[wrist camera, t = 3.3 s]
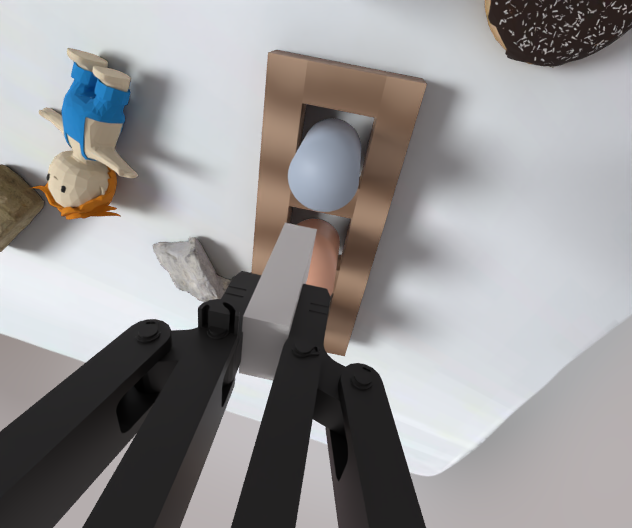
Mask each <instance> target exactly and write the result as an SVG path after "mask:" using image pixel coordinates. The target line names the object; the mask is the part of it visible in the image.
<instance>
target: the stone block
mask: <svg viewBox="0 0 632 528" xmlns="http://www.w3.org/2000/svg"><path fill="white" fill-rule="evenodd" d="M30 188H31V187H30V186H29V185H28V184H27V183H26V182H25V181H24V180H23V178H22V177H21V176H19V175H18V174H17V173H15V172H14V171H12V170H11V169H10V168H9V167H7V166H5V165H0V252H2V251H3V249H4V248H6V247H7V246H8V245H9V243H10V242H11V241H12V240H13V239H15V237H16V236H17V235H18V234H19V233H20V232H21V231H22V230H23V229H24V228H25V227H26V226H28V225H29V224H30V223H31V221H32V220H33V219H34V217H35V216H36V215H37V214H38V213H39V212H40V211H41V209H42V208H43V206H44V201H43V200H42V199H41V197H40V196H39V195H38V194H37V192H35V191H34V190H33V189H32V188H31V189H30Z"/></svg>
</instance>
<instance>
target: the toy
mask: <svg viewBox="0 0 632 528" xmlns="http://www.w3.org/2000/svg"><path fill="white" fill-rule="evenodd" d="M67 55H68V57H69V58H70V59H72V60H73V61H74V65H73V69H72V74H71V77H72V78H74V82H73V83H72V85H71V87H70V89H69V91H68V92H67V94H66V95H65V98H64V102H63V106H62V110H61V111H62V115H60V114H59V113H57V112H56V111H54V110H53V109H50V108H44V109H43V110H39V114H40V115H41V116H42V117H44V118H45V119H47V120H49V121H50V122H51V123H53V124H54V125H55V126H56V127H57V128H58V129H59V130H60V131H61V132H62V134H63V135H64V136H65V139H66V142H67V143H68V145H69V146H70V147H71V148H72V150H73V151H65V152H61V153H60V154H59V155H57V156H56V157H54V159H53V161H52V163H51V164H50V166H49V171H48V175H47V180H48V182H47V184H46V185H45V186H41V185H40V186H36V187H32V188H36V189H40V190H41V191H43V192H44V193H45V195H46V197H47V199H48V202H49V204H50V205H52V206H54V207H56V208H57V209H58V210H59V211H60V212H61V216H66V219H75V218H87V217H90V216H120V215H119V214H117V213H113V212H106V211H110V210H115V209H117V208H115V207H111V206H108V205H109V204H110V202H111V201H112V198H113V196H114V194H115V191H116V185H117V177H116V173H115V172H117V174H118V175H119V176H122V177H127V178H137V177H138V174H137V173H136V172H135V171H134V170H133V169H132V168H131V167H130V166H129V165H128V164H127V163H126V162H125V161H124V160H123V159H122V158H121V157H120V156H119V155H118V153H117V152H116V151H115V145H116V143H117V140H118V137H119V135H120V133H121V132H122V129H123V124H124V122H125V116H124V113H123V109H124V106H125V105H128V101H129V97H130V93H131V92H130V90H129V89H128V88H129V84H130V80H131V78H130V77H129V76H128V75H126V74H124V73H122V72H120V71H117V70H114V69H110V68H107V66H108V62H107V61H106V60H105V59H103V58H101V57H99V56H97V55H94V54H91V53H87V52H84V51H80V50H76V49H71V48H67ZM30 189H31V188H30ZM120 217H121V216H120Z"/></svg>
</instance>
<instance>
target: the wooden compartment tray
mask: <svg viewBox="0 0 632 528" xmlns="http://www.w3.org/2000/svg"><path fill="white" fill-rule="evenodd" d="M426 85H427V83H426V82H425V81H424V80H423V79H422V78H417V77H412V76H407V75H402V74H397V73H392V72H386V71H381V70H376V69H371V68H366V67H361V66H356V65H351V64H346V63H341V62H336V61H331V60H326V59H321V58H316V57H311V56H306V55H300V54H295V53H290V52H285V51H280V50H274V51H271V52H268V61H267V74H266V87H265V101H264V114H263V127H262V140H261V153H260V167H259V180H258V193H257V206H256V220H255V233H254V246H253V259H252V272H251V273H253V274H258V275H262V273H263V271H264V269H265V267H266V264H267V262H268V260H269V258H270V255H271V253H272V251H273V249H274V246H275V244H276V242H277V240H278V238H279V235H280V233H281V231H282V229H283V226H284V224H285V223H289V224H290V221H291V214H292V207H296V208H301V209H306V210H311V211H315V210H312V209H309V208H307V207H305V206H304V205H303V204H301V203H300V202H299V201H298V200H297V199H296V198H295V196H294V195H293V193H292V191H291V189H290V186H289V182H288V170H289V166H290V163H291V161H292V159H293V158H294V156H295V154H296V152H297V150H298V149H299V147H300V145H301V141H302V133H303V126H304V119H305V111H306V104H309V105H314V106H319V107H324V108H329V109H334V110H339V111H344V112H349V113H354V114H359V115H364V116H369V117H374V122H373V126H372V131H371V135H370V139H369V143H368V147H367V151H366V156H365V160H364V164H363V168H362V172H361V176H360V177H359V185H358V189H357V191H356V193H355V195H354V197H353V198H352V200H351V201H350V202H349V203H348V204H347V205H345V206H344V207H342V208H340V209H338V210H335V211H330V212H321V213H326V214H331V215H336V216H341V217H346V218H350V222H349V226H348V231H347V235H346V239H345V243H344V247H343V251H342V255H338V260H337V267H336V275H335V282H334V289H333V292H332V297H331V301H330V306H329V312H328V319H327V325H326V331H325V337H324V348H325V351H326V352H327V353H332V354H337V355H341V356H345V353H346V350H347V347H348V343H349V340H350V337H351V333H352V330H353V327H354V324H355V320H356V317H357V314H358V310H359V307H360V304H361V300H362V297H363V294H364V290H365V287H366V284H367V281H368V277H369V274H370V271H371V267H372V264H373V261H374V257H375V254H376V251H377V247H378V244H379V241H380V238H381V234H382V231H383V228H384V224H385V221H386V218H387V214H388V211H389V208H390V204H391V201H392V198H393V195H394V191H395V188H396V185H397V181H398V178H399V175H400V171H401V168H402V165H403V162H404V158H405V155H406V152H407V148H408V145H409V142H410V138H411V135H412V132H413V128H414V125H415V122H416V119H417V115H418V112H419V109H420V105H421V102H422V99H423V95H424V92H425V89H426ZM316 212H320V211H316Z"/></svg>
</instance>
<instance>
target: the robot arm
mask: <svg viewBox="0 0 632 528" xmlns="http://www.w3.org/2000/svg"><path fill="white" fill-rule="evenodd" d="M316 232H317V229H313V228H308V227H303V226H299V225H294V224H289V223H285V224H284V226H283V229H282V231H281V233H280V235H279V238H278V240H277V242H276V244H275V246H274V249H273V251H272V253H271V255H270V258H269V260H268V262H267V264H266V267H265V269H264V271H263V273H262V275H258V274H253V273H248V272H244V271H241V272H240V273H239V274H237V275H236V276H234V277H233V278H232V280H231V282H230V284H229V285H228V287H227V289H226V291H225V293H224V294H223V296H222V298H221V299H213V300H209V301H206V302H204V303H202V304H201V305H200V306H199V307H198V328H195V329H190V330H174V331H171V329H170V327H169V325H168V324H166V323H165V322H163V321H160V320H156V319H150V320H144V321H140V322H138V323H136V324H134V325H132V326H131V327H130V328H128V329H127V330H126V331H125V332H123V333H122V334H121V335H120V336H118V337H117V338H116V339H115V340H114V341H112V342H111V343H110V344H109V345H107V346H106V347H105V348H104V349H102V350H101V351H100V352H99V353H97V354H96V355H95V356H94V357H92V358H91V359H90V360H89V361H87V362H86V363H85V364H84V365H83V366H81V367H80V368H79V369H78V370H76V371H75V372H74V373H73V374H71V375H70V376H69V377H68V378H66V379H65V380H64V381H63V382H61V383H60V384H59V385H58V386H56V387H55V388H54V389H53V390H51V391H50V392H49V393H48V394H46V395H45V396H44V397H43V398H41V399H40V400H39V401H38V402H36V403H35V404H34V405H33V406H32V407H30V408H29V409H28V410H27V411H25V412H24V413H23V414H22V415H20V416H19V417H18V418H17V419H15V420H14V421H13V422H12V423H10V424H9V425H8V426H7V427H6V428H4V429H3V430H2V431H1V432H0V528H53V527H54V526H55V525H56V524H57V522H58V521H59V520H60V519H61V518H62V517H63V515H65V513H66V512H67V511H68V510H69V509H70V508H71V507H72V505H73V504H74V503H75V502H76V501H77V500H78V499H79V498H80V496H81V495H82V494H83V493H84V492H85V491H86V490H87V489H88V487H89V486H90V485H91V484H92V483H93V482H94V480H96V478H97V477H98V476H99V475H100V474H101V473H102V472H103V470H104V469H105V468H106V467H107V466H108V465H109V463H111V462H112V460H113V459H114V458H115V457H116V456H117V455H118V454H119V452H120V451H121V450H122V449H123V448H124V447H125V446H126V445H127V443H128V442H129V441H130V440H131V439H132V438H133V437H134V435H135V434H136V433H137V434H136V436H135V438H134V439H133V441H132V443H131V444H130V446H129V448H128V450H127V451H126V453H125V455H124V457H123V458H122V460H121V462H120V463H119V465H118V467H117V469H116V471H115V472H114V474H113V475H112V477H111V479H110V481H109V482H108V484H107V486H106V488H105V489H104V491H103V493H102V495H101V496H100V498H99V500H98V501H97V503H96V505H95V507H94V508H93V510H92V512H91V514H90V516H89V517H88V519H87V521H86V522H85V524H84V526H83V527H82V528H180V526H181V523H182V521H183V518H184V516H185V513H186V510H187V508H188V505H189V502H190V500H191V497H192V495H193V492H194V490H195V487H196V484H197V482H198V479H199V476H200V474H201V471H202V469H203V466H204V464H205V461H206V458H207V455H208V453H209V451H210V448H211V445H212V443H213V440H214V438H215V435H216V432H217V430H218V427H219V424H220V422H221V419H222V417H223V414H224V411H225V409H226V406H227V404H228V401H229V398H230V396H231V393H232V391H233V388H234V384H235V375H236V373H237V370H238V368H239V373H242V374H246V375H251V376H255V377H260V378H264V379H269V380H273V383H272V387H271V390H270V394H269V397H268V401H267V404H266V408H265V411H264V414H263V418H262V421H261V425H260V428H259V432H258V435H257V439H256V442H255V446H254V449H253V453H252V457H251V460H250V463H249V467H248V471H247V474H246V477H245V481H244V484H243V488H242V491H241V495H240V498H239V502H238V505H237V509H236V512H235V516H234V519H233V522H232V526H231V528H295V526H296V520H297V513H298V506H299V501H300V494H301V488H302V482H303V476H304V470H305V463H306V457H307V451H308V445H309V438H310V432H311V426H312V419H313V420H315V421H317V422H319V423H320V424H322V425H324V426H325V427H326V436H327V443H328V451H329V458H330V466H331V473H332V481H333V489H334V497H335V504H336V512H337V519H338V526H339V528H426V526H425V523H424V520H423V516H422V513H421V509H420V506H419V503H418V500H417V496H416V493H415V489H414V486H413V482H412V479H411V476H410V472H409V469H408V466H407V462H406V459H405V456H404V452H403V449H402V446H401V442H400V439H399V435H398V432H397V429H396V425H395V422H394V419H393V415H392V412H391V409H390V405H389V402H388V398H387V395H386V392H385V388H384V385H383V382H382V379H381V377H380V375H379V374H378V373H377V372H376V371H375V370H374V369H373V368H371V367H369V366H367V365H365V364H360V363H354V364H350V365H348V366H346V367H345V366H343V365H341V364H339V363H337V362H336V361H334V360H333V359H332V358H331V357H329V356H328V354H327V353H326V351H325V348H324V337H325V331H326V325H327V319H328V312H329V306H330V300H331V297H330V295H329V292H328V290H327V289H326V288H322V287H317V286H312V285H308V284H306V282H307V278H308V273H309V268H310V263H311V258H312V252H313V247H314V242H315V237H316Z"/></svg>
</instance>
